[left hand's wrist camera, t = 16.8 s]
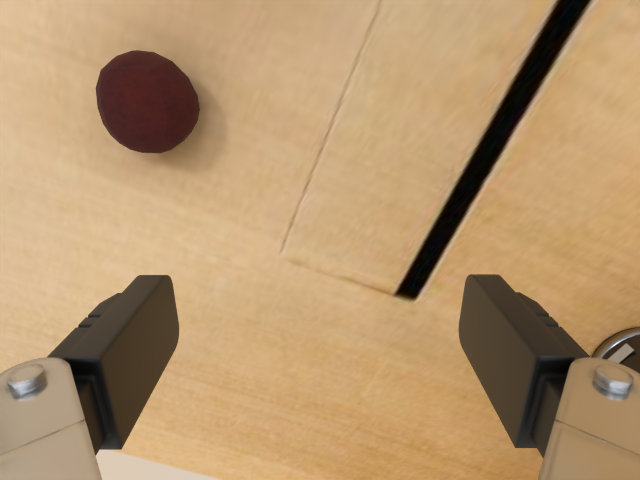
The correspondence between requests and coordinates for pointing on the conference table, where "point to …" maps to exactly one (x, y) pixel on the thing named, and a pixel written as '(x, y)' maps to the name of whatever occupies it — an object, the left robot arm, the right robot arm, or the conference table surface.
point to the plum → (146, 102)
